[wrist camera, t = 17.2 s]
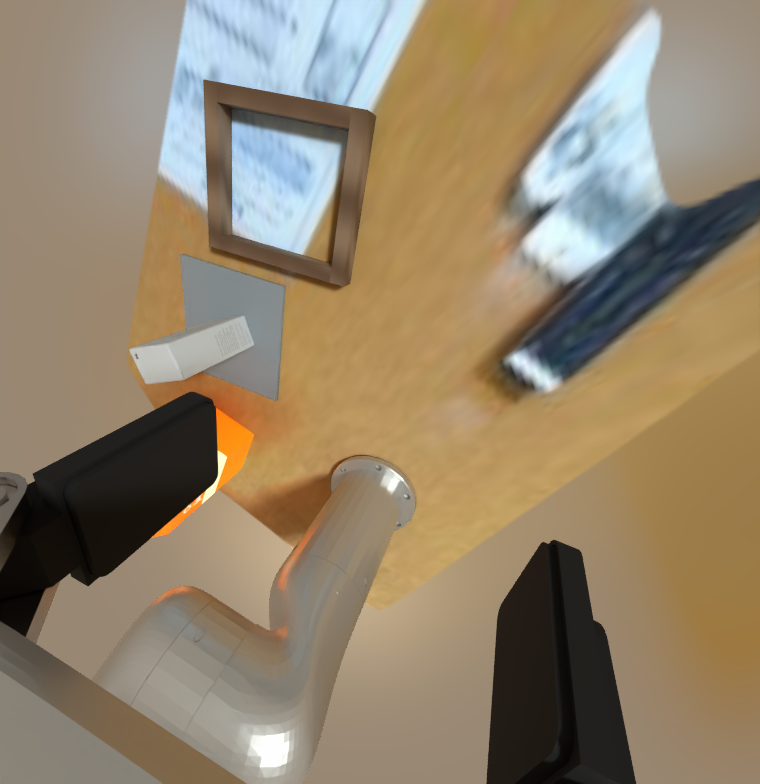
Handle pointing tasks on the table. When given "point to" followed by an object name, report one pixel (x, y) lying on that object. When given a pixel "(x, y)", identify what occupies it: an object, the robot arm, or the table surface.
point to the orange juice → (220, 463)
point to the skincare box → (191, 350)
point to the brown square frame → (220, 174)
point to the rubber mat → (230, 299)
